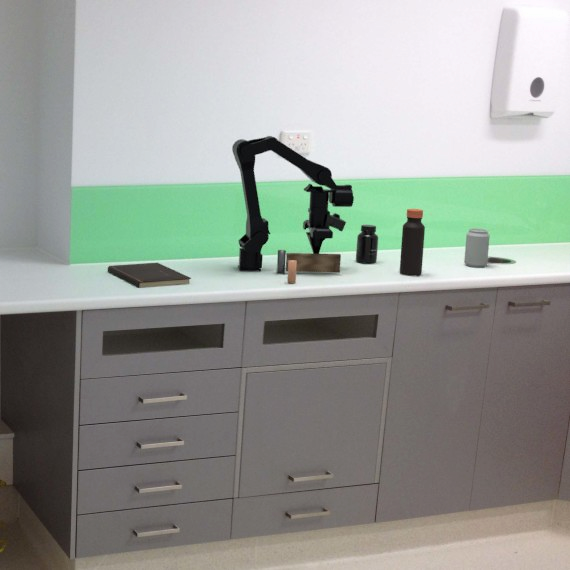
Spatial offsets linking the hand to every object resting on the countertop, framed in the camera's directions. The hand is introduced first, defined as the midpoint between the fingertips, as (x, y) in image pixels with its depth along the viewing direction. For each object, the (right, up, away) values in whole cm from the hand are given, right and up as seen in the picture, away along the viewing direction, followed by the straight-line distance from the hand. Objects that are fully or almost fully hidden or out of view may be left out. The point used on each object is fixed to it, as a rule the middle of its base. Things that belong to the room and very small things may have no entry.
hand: (316, 256), depth 331 cm
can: (+53, -3, +19) cm, 56 cm away
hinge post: (-11, -5, -8) cm, 14 cm away
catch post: (-8, -8, -21) cm, 23 cm away
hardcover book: (-49, -7, -22) cm, 55 cm away
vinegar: (+29, -6, +1) cm, 30 cm away
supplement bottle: (+17, -2, +16) cm, 23 cm away
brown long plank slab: (-1, -5, -6) cm, 8 cm away
